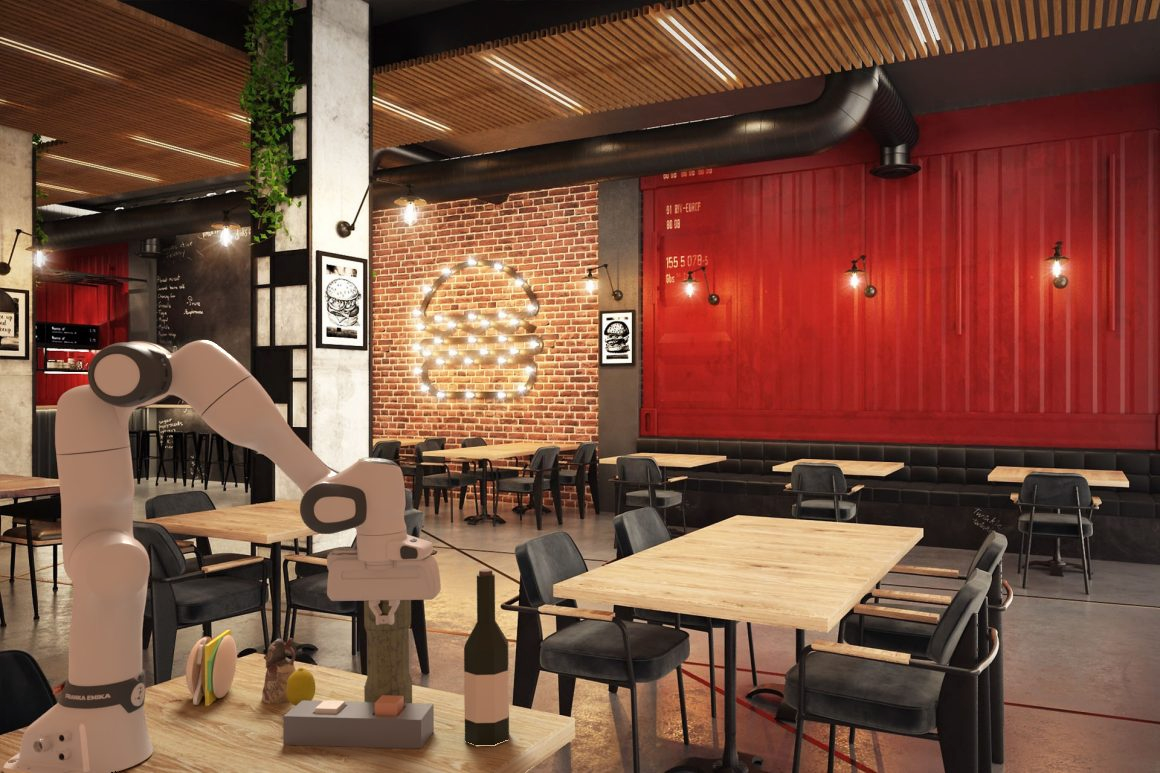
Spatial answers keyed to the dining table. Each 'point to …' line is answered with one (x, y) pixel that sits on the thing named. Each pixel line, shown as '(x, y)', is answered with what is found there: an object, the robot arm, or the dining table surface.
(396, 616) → the thermos
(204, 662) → the hamburger
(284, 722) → the key panel
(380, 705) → the clay key
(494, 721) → the wine bottle
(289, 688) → the lemon
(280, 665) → the figurine
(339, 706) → the pale key
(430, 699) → the dining table surface
